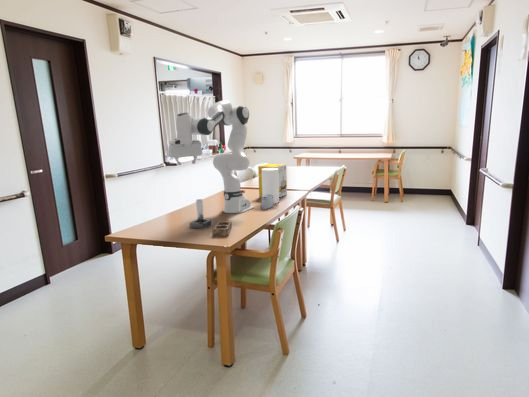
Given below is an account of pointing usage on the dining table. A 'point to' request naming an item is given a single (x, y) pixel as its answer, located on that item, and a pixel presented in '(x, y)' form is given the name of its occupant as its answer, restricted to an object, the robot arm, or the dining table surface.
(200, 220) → the rod
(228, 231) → the tool rack
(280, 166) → the packaging box
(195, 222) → the socket block
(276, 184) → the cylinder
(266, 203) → the medicine box
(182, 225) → the dining table surface
